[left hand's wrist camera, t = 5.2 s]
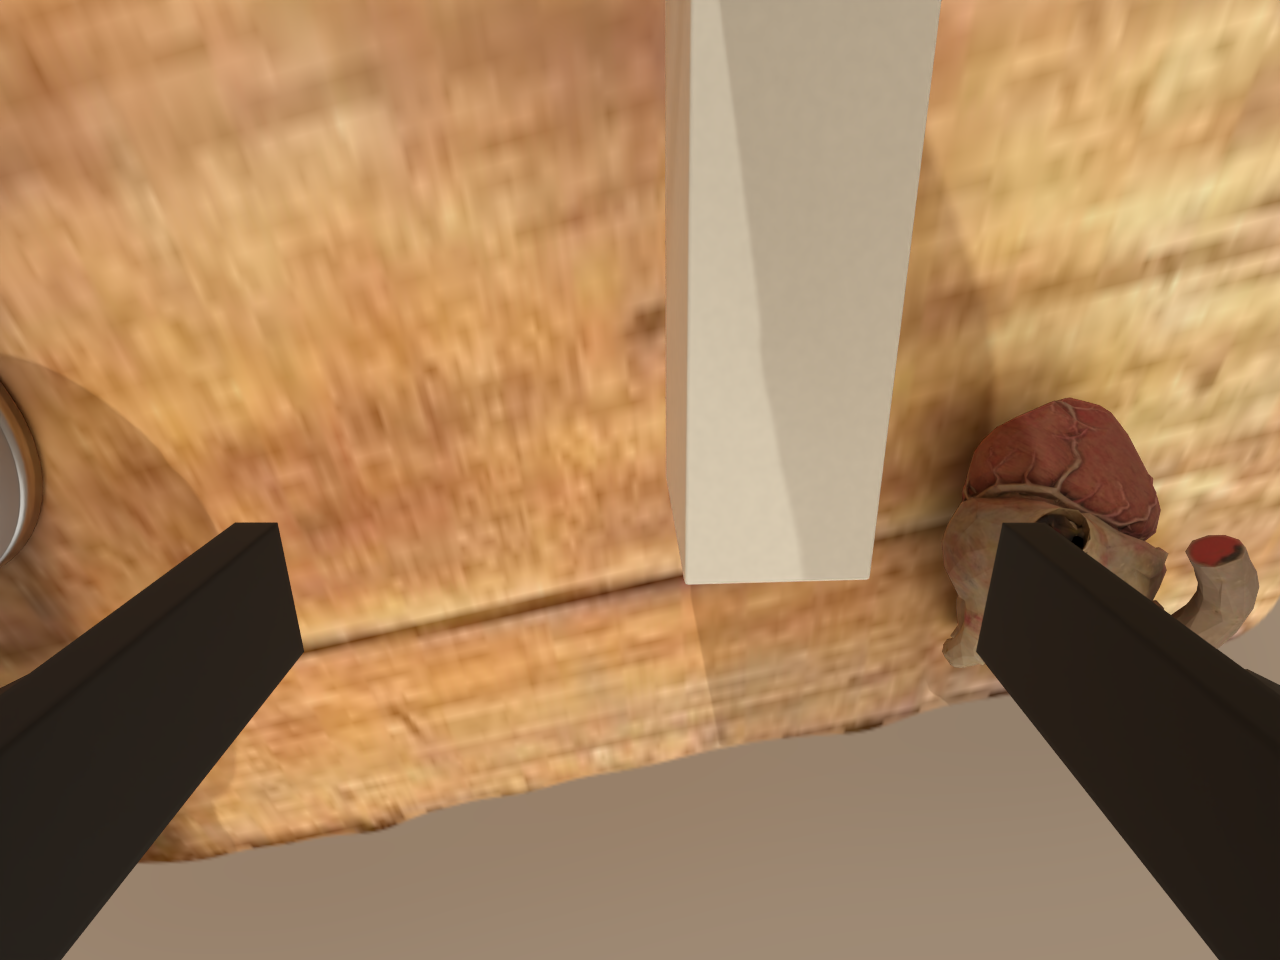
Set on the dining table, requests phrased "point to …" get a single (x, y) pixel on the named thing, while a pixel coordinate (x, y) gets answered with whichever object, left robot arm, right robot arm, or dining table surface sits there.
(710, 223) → the bar
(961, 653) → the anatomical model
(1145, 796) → the left robot arm
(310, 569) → the dining table surface
